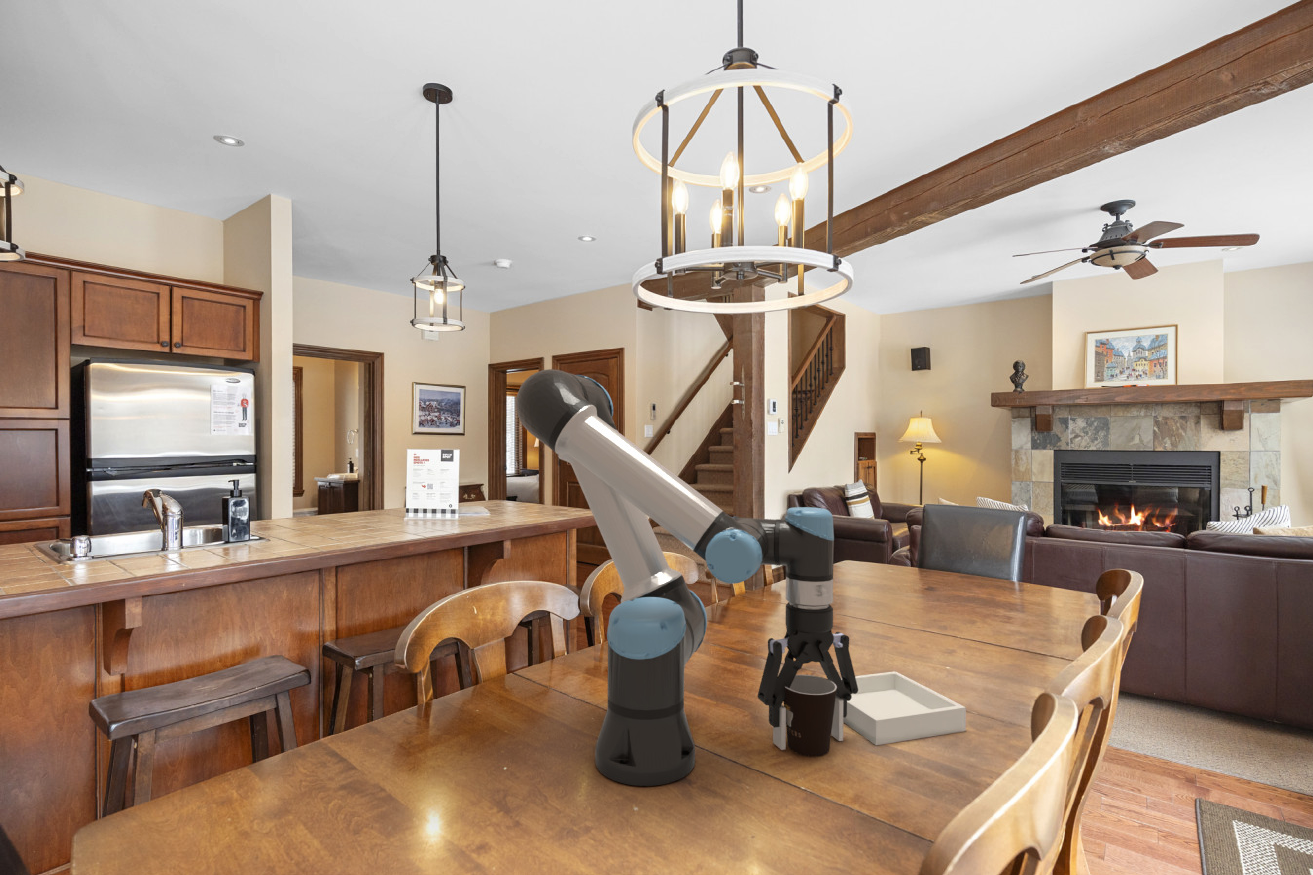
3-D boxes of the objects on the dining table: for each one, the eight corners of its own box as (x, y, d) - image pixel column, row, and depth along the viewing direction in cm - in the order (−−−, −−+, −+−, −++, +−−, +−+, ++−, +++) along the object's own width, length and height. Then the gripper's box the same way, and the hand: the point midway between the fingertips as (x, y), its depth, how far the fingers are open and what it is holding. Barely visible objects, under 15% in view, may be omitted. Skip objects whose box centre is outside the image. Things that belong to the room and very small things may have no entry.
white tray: (876, 745, 104) (876, 720, 104) (815, 702, 121) (815, 680, 121) (965, 730, 109) (965, 707, 109) (895, 691, 126) (895, 671, 127)
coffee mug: (838, 763, 98) (838, 696, 98) (780, 756, 100) (781, 692, 100) (833, 729, 109) (833, 670, 109) (781, 724, 111) (781, 666, 111)
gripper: (757, 614, 98) (756, 762, 97) (882, 604, 105) (881, 742, 104) (736, 602, 105) (735, 740, 105) (854, 593, 112) (853, 723, 112)
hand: (808, 741), depth 104 cm, fingers open, 10 cm apart
